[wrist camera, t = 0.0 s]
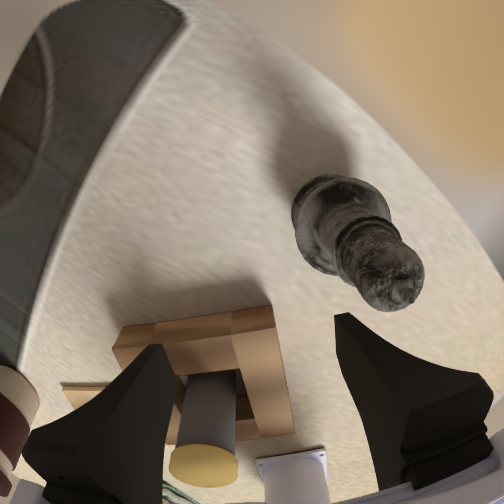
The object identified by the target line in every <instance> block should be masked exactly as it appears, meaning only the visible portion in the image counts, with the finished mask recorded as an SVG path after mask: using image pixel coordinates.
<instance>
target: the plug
mask: <svg viewBox="0 0 504 504" xmlns="http://www.w3.org/2000/svg"><path fill="white" fill-rule="evenodd" d="M235 418H236V371H235V369H229V370H221V371H213V372H205V373H196V374H189V377H188V382H187V387H186V392H185V397H184V403H183V408H182V413H181V419H180V424H179V430H178V435H177V441H176V447H175V450H173V452H172V453H171V457H170V463H169V471H170V473H171V474H172V475H173V476H174V477H175V478H176V479H178V480H180V481H182V482H184V483H186V484H189V485H193V486H198V487H207V488H213V487H222V486H226V485H229V484H231V483H233V482H234V481H235V480H236V479H237V476H238V461H237V459H236V457H235Z"/></svg>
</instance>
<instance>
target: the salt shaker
mask: <svg viewBox="0 0 504 504" xmlns="http://www.w3.org/2000/svg"><path fill="white" fill-rule="evenodd" d="M292 221H293V225H294V229H295V237H296V241H297V245H298V249H299V250H300V252H301V254H302V256H303V257H304V259H305V260H306V261H307V262H308V263H309V264H310V265H311V266H312V267H313V268H315V269H317V270H319V271H321V272H322V273H325V274H330V275H334V276H339V277H340V278H341V279H342V280H343V281H344V282H346V283H347V284H349V285H351V286H354V287H356V288H357V290H358V291H359V293H360V294H361V296H362V297H363V299H364V300H365V301H366V302H367V303H368V304H369V305H370V306H371V307H373V308H375V309H376V310H378V311H382V312H394V311H398V310H401V309H404V308H406V307H407V306H409V305H410V304H413V303H414V301H415V299H416V298H417V297H418V295H419V294H420V292H421V289H422V287H423V282H424V277H425V274H424V267H423V264H422V261H421V259H420V258H419V256H418V255H417V254H416V252H415V251H414V250H412V249H411V248H410V247H409V246H407V245H406V244H405V243H404V242H402V238H401V236H400V233H399V231H398V230H397V228H396V227H395V226H394V225H393V224H392V222H391V215H390V209H389V207H388V205H387V202H386V200H385V198H384V197H383V196H382V195H381V193H380V192H379V191H378V190H377V189H376V188H375V187H373V186H372V185H370V184H369V183H367V182H365V181H362V180H359V179H356V178H345V177H342V176H339V175H324V176H320V177H316V178H315V179H313V180H311V181H309V182H308V183H307V184H306V185H304V186H303V187H302V188H301V189H300V191H299V193H298V194H297V196H296V198H295V200H294V203H293V207H292Z"/></svg>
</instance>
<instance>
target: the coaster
mask: <svg viewBox="0 0 504 504" xmlns="http://www.w3.org/2000/svg"><path fill="white" fill-rule="evenodd" d="M105 388H106V387H63V389H62V392H63V393H64V395H65V396H66V398H67V399H68V401H69V402H70V403H71V405H72V406H73V408H74V409H75V410H76V409H77V408H79V407H80V406H82V405H84V404H85V403H87V402H88V401H90V400H91V399H92V398H93V397H95V396H96V395H97V394H99V393H100V392H101V391H102V390H103V389H105ZM165 446H169V445H166V443H165Z"/></svg>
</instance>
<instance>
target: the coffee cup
mask: <svg viewBox="0 0 504 504" xmlns="http://www.w3.org/2000/svg"><path fill="white" fill-rule="evenodd" d="M39 405H40V403H39V398H38V395H37V393H36V392H35V390H34V389H33V387H32V386H31V385H30V384H29V382H28V381H27V380H26V379H25V378H24V377H23V376H21V375H20V374H19V373H18V372H16V371H15V370H13V369H11V368H9V367H7V366H3V365H0V496H3V497H7V496H8V495H9V493H10V490H11V488H12V484H11V482H10V481H9V478H10V475H11V472H12V471H13V470H14V469H15V468H16V465H17V462H18V460H19V457H20V455H21V451H22V449H23V447H24V445H25V443H26V440H27V438H28V436H29V433H30V426H31V424H32V422H33V420H34V418H35V415H36V413H37V411H38V409H39Z"/></svg>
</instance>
